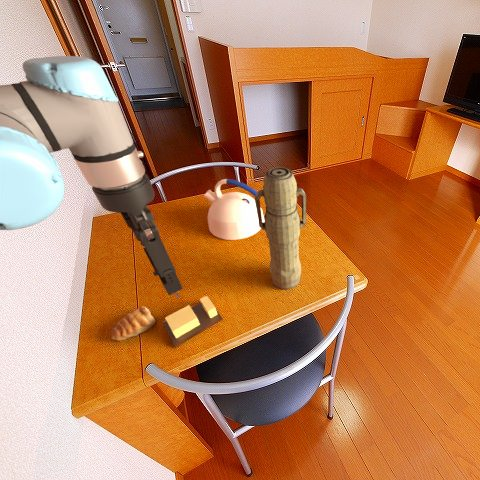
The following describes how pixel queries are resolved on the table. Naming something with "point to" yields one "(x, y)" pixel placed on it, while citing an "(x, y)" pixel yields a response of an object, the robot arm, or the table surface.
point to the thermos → (282, 225)
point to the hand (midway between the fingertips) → (168, 279)
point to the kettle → (232, 212)
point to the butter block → (182, 321)
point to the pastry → (133, 324)
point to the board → (204, 324)
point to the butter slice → (208, 306)
